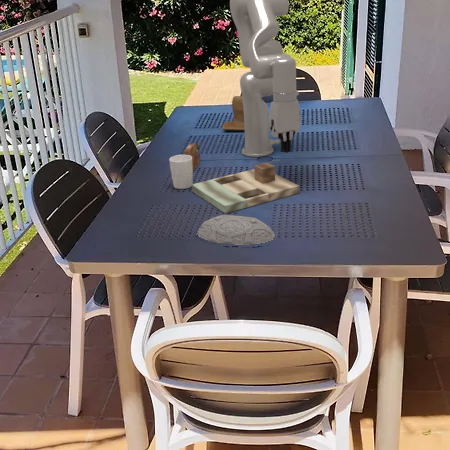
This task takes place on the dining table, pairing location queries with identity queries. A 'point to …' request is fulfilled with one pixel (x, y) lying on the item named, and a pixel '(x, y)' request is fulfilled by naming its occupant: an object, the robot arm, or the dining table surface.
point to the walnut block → (264, 172)
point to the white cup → (181, 171)
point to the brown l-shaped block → (236, 115)
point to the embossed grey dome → (235, 230)
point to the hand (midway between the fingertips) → (286, 151)
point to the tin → (193, 154)
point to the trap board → (243, 191)
